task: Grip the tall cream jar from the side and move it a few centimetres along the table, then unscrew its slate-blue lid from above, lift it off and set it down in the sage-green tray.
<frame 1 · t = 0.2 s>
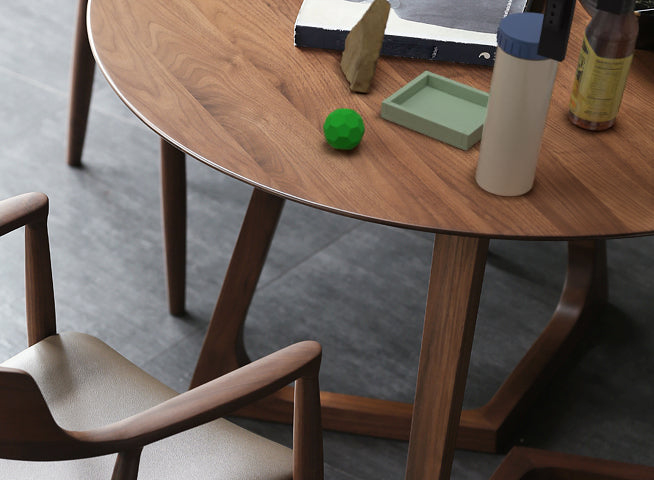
hand: (580, 33, 112), 20 cm above the table, tool pointing down, fingers open, 13 cm apart
lid: (532, 30, 114), point 19 cm above the table, screwed on, not yet turned
jar: (503, 180, 127), on the table
polyhedron: (342, 147, 132), on the table
rock: (356, 75, 145), on the table
tray: (444, 116, 137), on the table
sauce bottle: (589, 122, 137), on the table
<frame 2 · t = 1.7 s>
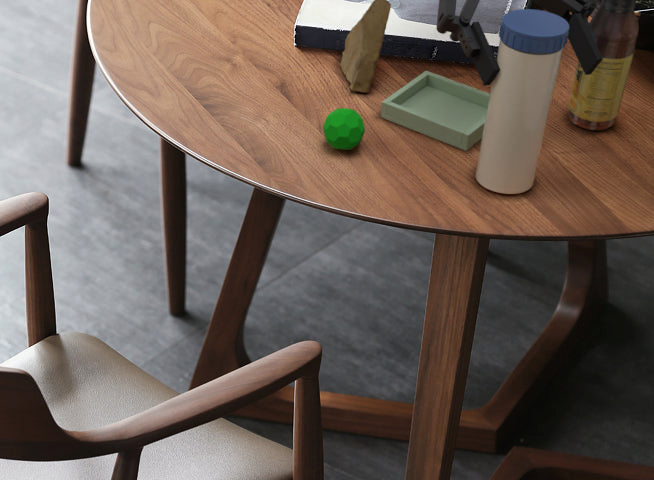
hand: (544, 72, 120), 13 cm above the table, tool tilted 65°, fingers open, 13 cm apart
nothing on the table moved.
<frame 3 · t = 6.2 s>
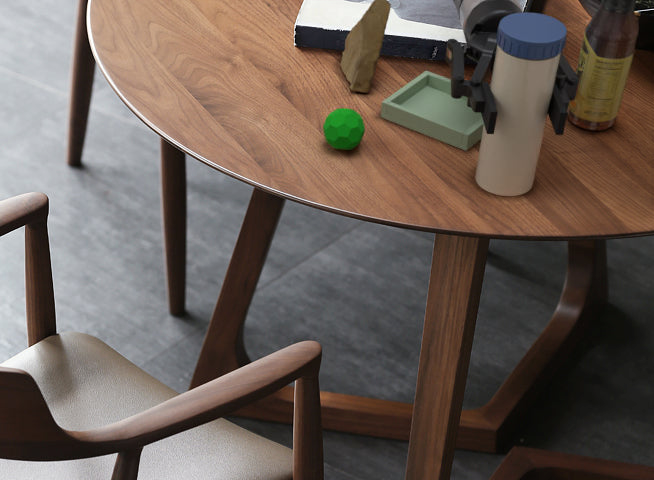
hand: (527, 123, 116), 11 cm above the table, tool horizontal, fingers closed on jar, 7 cm apart
jar: (503, 180, 127), on the table, touching gripper
everything else where it was.
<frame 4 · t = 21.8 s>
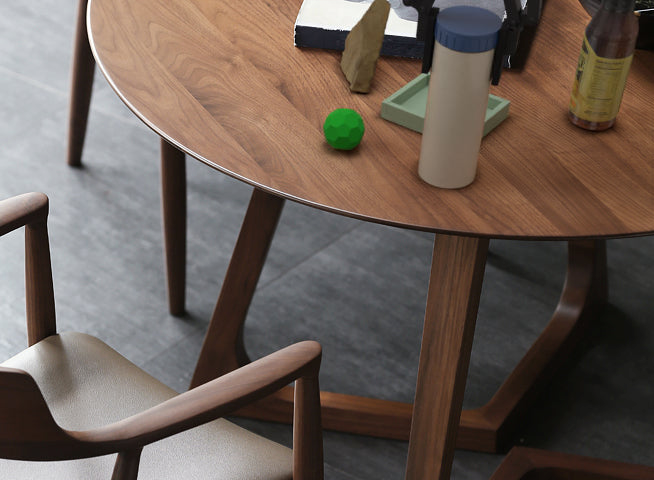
hand: (461, 73, 119), 13 cm above the table, tool pointing down, fingers closed on lid, 7 cm apart
lid: (468, 23, 115), point 19 cm above the table, screwed on, not yet turned, touching gripper
jar: (446, 172, 128), on the table
everything else where it was.
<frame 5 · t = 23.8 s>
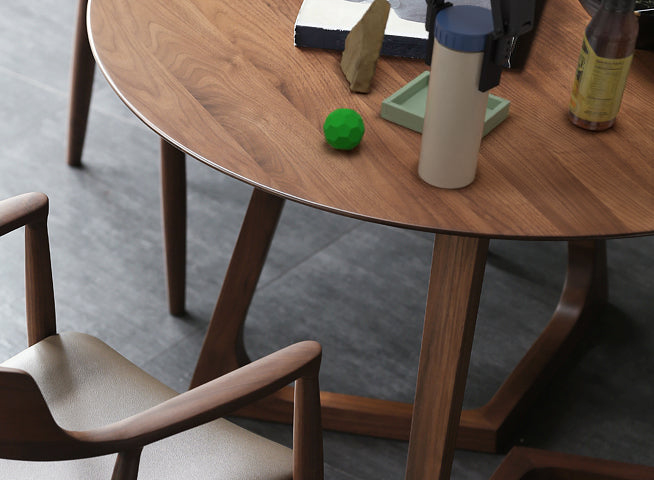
hand: (461, 74, 119), 13 cm above the table, tool pointing down, fingers closed on lid, 7 cm apart
lid: (469, 23, 115), point 19 cm above the table, off its thread, touching gripper
jar: (446, 172, 128), on the table, touching gripper
everything else where it was.
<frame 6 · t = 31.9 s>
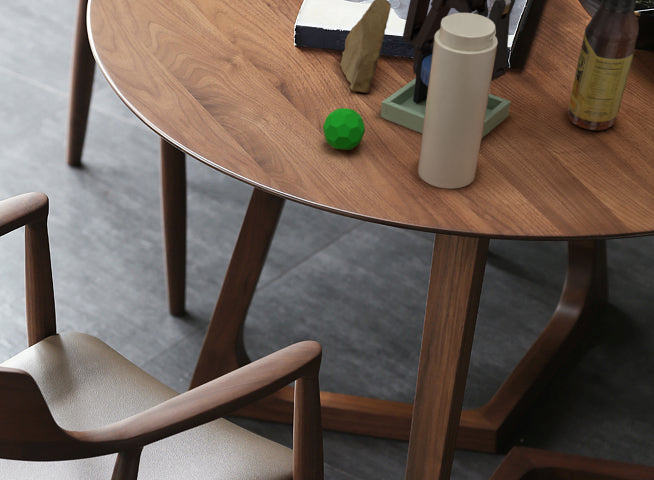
hand: (445, 110, 137), 1 cm above the table, tool pointing down, fingers closed on lid, 7 cm apart
lid: (450, 67, 132), point 7 cm above the table, off its thread, touching gripper
jar: (446, 172, 128), on the table
everything else where it was.
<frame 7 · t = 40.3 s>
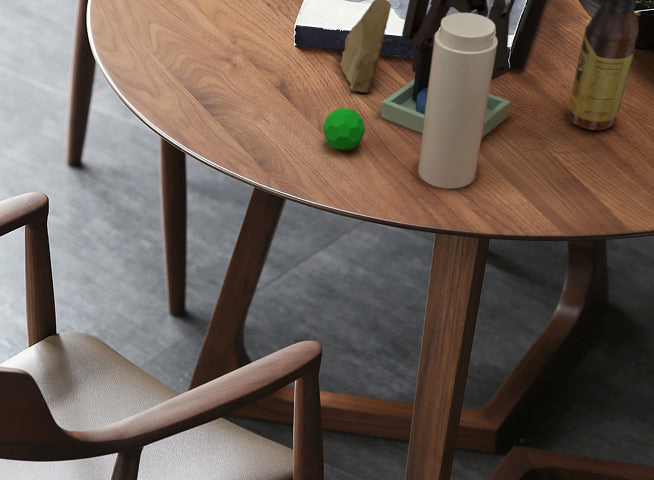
hand: (444, 109, 137), 1 cm above the table, tool pointing down, fingers closed on lid, 7 cm apart
lid: (445, 101, 136), point 2 cm above the table, off its thread, touching gripper, tray
everything else where it was.
when the fingers open (2 cm above the table, at t = 40.8 s): lid drops 1 cm, resting on tray.
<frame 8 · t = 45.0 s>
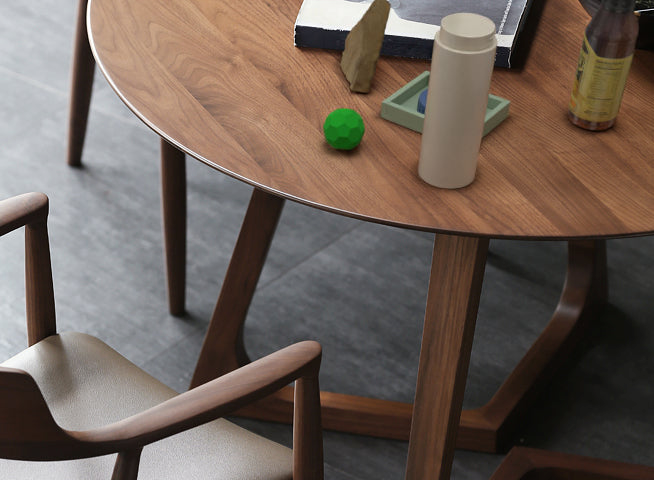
lid: (446, 102, 136), point 2 cm above the table, off its thread, touching tray
everything else where it was.
at the end: lid inside the target area in the tray (0.1 cm from its centre), point 2.1 cm above the tray's base; the gripper is holding nothing; jar inside the target area (0.1 cm from its centre), on the table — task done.
